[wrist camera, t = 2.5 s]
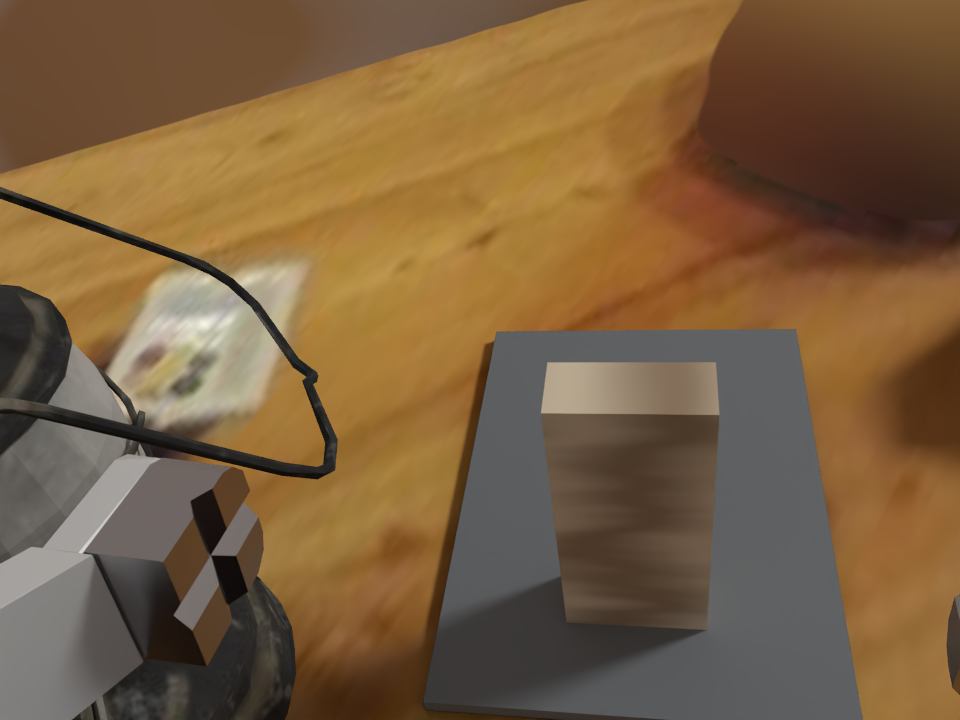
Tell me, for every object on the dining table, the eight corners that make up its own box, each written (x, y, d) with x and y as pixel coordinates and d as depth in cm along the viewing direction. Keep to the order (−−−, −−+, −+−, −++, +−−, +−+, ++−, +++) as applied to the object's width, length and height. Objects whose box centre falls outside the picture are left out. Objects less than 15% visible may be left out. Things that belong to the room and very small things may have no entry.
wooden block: (566, 622, 37) (540, 413, 29) (570, 572, 39) (547, 362, 31) (706, 629, 36) (719, 414, 28) (704, 578, 38) (715, 362, 30)
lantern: (-67, 608, 43) (-695, -68, 23) (314, 440, 48) (68, -234, 28) (-48, 1040, 29) (-1503, 317, 10) (476, 742, 34) (228, -131, 15)
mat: (425, 709, 36) (423, 702, 35) (497, 339, 52) (496, 331, 51) (862, 741, 32) (864, 734, 32) (794, 337, 49) (795, 329, 48)
